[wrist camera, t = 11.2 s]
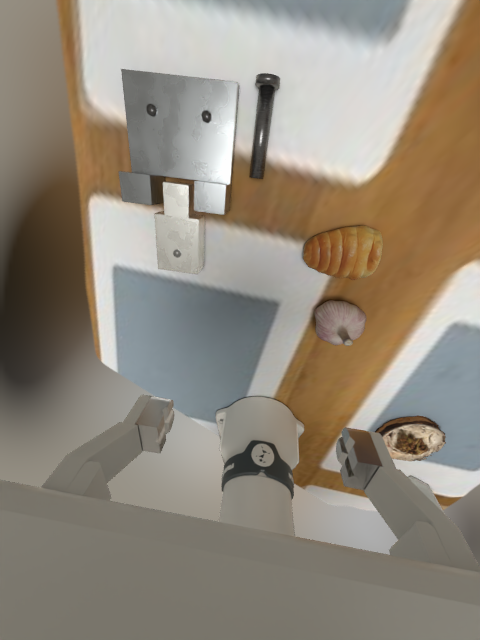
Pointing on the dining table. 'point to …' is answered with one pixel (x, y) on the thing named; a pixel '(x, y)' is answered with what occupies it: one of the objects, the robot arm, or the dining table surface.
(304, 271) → the dining table surface
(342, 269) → the pastry
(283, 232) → the dining table surface
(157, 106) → the gunmetal leaf
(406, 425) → the brown flat two-tone disc
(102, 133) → the dining table surface
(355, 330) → the garlic bulb
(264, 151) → the hinge pin
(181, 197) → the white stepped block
